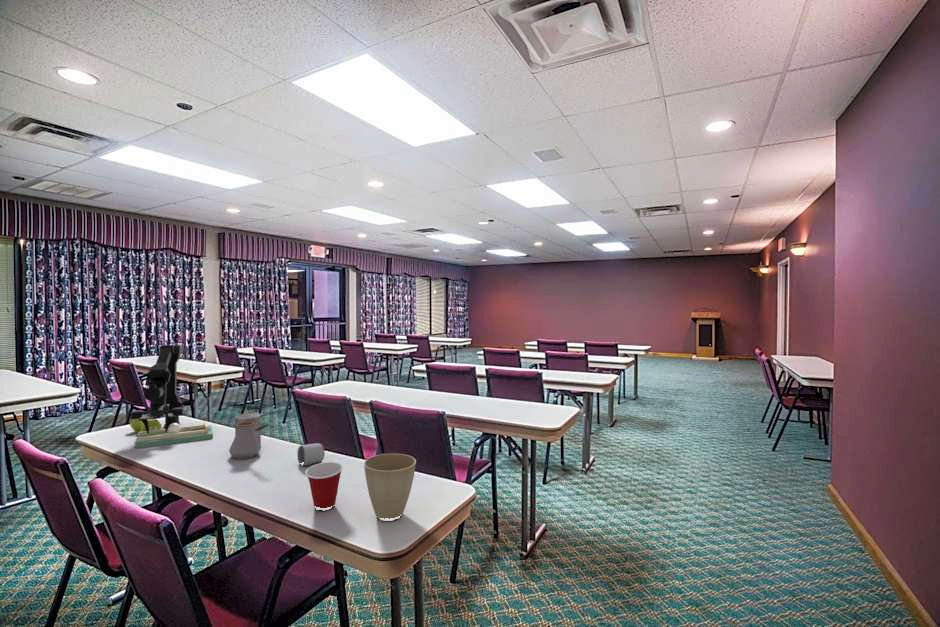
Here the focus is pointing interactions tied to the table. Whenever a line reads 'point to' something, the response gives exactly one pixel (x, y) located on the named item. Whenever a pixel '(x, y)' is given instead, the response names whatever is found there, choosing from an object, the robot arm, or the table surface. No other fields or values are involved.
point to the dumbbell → (139, 425)
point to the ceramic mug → (310, 453)
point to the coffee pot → (245, 441)
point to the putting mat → (174, 436)
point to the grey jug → (249, 418)
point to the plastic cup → (324, 483)
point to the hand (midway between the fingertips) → (157, 432)
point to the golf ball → (174, 428)
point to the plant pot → (389, 483)
